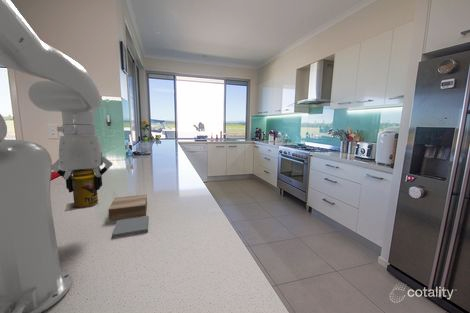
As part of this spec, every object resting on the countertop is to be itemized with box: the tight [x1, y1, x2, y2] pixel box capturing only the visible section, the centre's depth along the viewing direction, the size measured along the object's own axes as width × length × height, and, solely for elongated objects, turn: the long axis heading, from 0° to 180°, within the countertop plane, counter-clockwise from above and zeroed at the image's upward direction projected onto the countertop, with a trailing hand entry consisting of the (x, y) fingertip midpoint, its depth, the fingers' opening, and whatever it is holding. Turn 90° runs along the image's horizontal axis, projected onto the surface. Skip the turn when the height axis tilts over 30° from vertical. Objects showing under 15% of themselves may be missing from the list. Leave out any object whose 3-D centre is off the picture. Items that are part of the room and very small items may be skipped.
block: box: [108, 194, 148, 221], centre depth 82 cm, size 12×12×4 cm
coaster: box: [111, 215, 150, 238], centre depth 70 cm, size 10×10×1 cm
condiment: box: [63, 169, 101, 212], centre depth 64 cm, size 7×8×12 cm
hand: (85, 189), depth 64 cm, fingers closed on condiment, 6 cm apart
